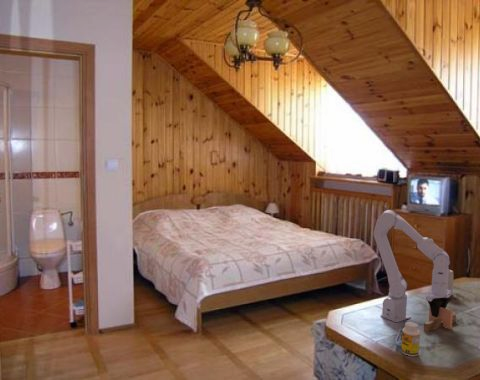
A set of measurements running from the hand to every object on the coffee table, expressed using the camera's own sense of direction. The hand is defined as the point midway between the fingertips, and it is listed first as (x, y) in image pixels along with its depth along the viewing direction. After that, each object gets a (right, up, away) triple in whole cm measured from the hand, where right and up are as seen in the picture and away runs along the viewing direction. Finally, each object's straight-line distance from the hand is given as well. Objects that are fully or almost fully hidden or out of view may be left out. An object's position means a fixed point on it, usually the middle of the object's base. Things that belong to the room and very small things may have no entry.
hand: (437, 315), depth 174 cm
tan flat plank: (+1, -4, -1) cm, 4 cm away
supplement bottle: (-21, -6, -26) cm, 34 cm away
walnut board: (0, -4, -2) cm, 4 cm away
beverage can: (+20, -1, +37) cm, 42 cm away
